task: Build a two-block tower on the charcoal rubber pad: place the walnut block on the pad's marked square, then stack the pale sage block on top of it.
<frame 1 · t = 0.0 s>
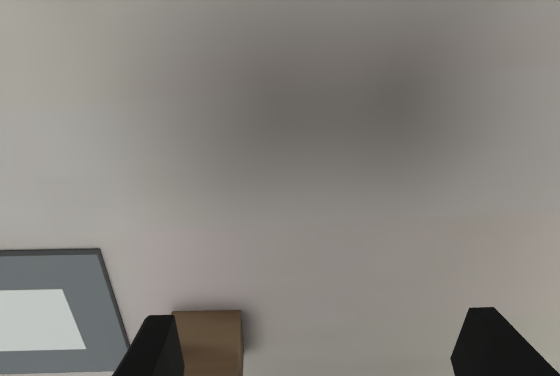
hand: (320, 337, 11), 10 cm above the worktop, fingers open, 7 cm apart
pad: (32, 315, 25), on the worktop
block walnut: (209, 332, 26), on the worktop
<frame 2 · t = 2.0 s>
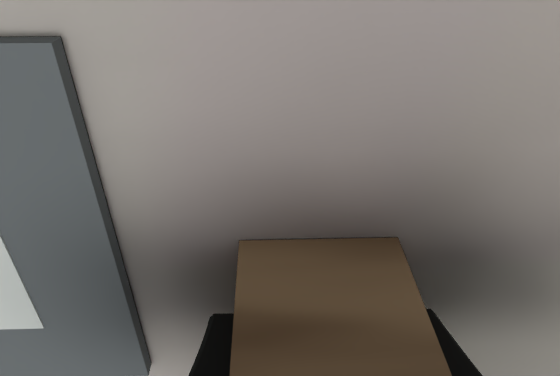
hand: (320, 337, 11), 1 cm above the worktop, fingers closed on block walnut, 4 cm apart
block walnut: (315, 293, 12), on the worktop, touching gripper
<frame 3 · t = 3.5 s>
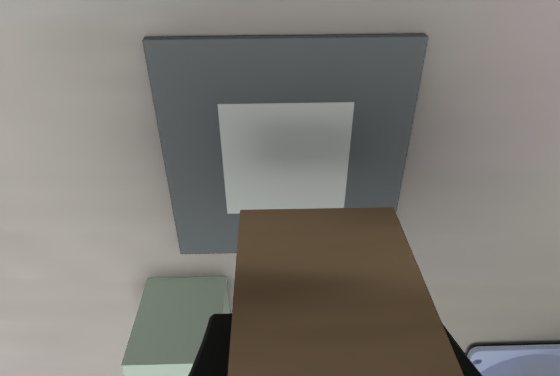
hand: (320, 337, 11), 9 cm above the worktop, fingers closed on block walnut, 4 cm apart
block sage: (192, 303, 23), on the worktop
pad: (285, 156, 18), on the worktop
block walnut: (313, 264, 12), point 7 cm above the worktop, touching gripper
when the fingers open (3 cm above the worktop, at t = 5.0 s): block walnut stays where it is, resting on pad.
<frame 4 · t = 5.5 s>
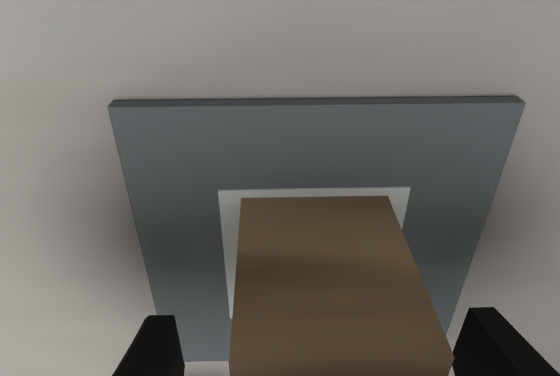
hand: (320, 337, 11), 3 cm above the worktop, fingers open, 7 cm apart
pad: (309, 249, 13), on the worktop
block walnut: (311, 251, 13), resting on pad
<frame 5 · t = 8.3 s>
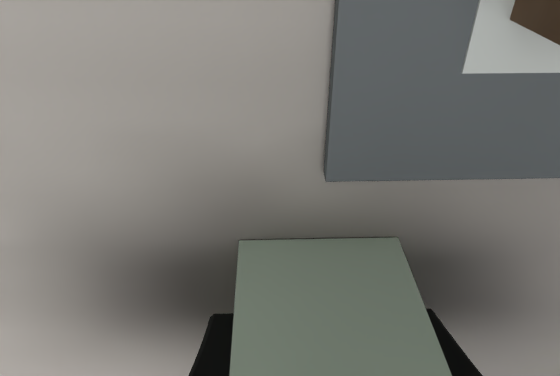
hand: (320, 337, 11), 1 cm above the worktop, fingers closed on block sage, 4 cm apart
block sage: (315, 293, 12), on the worktop, touching gripper
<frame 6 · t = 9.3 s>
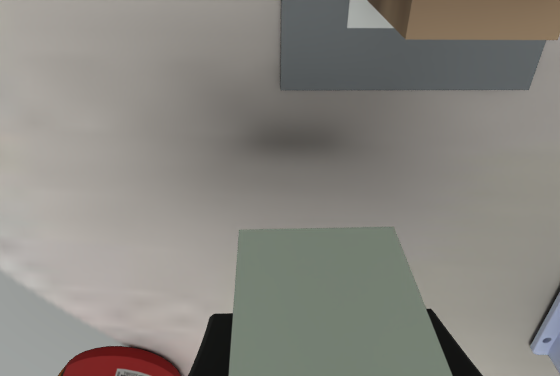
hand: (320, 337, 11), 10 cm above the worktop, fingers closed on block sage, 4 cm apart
block sage: (313, 283, 12), point 8 cm above the worktop, touching gripper
canned food: (125, 375, 29), on the worktop
when the fingers open (8 cm above the worktop, at t = 10.6 s): block sage stays where it is, resting on block walnut.
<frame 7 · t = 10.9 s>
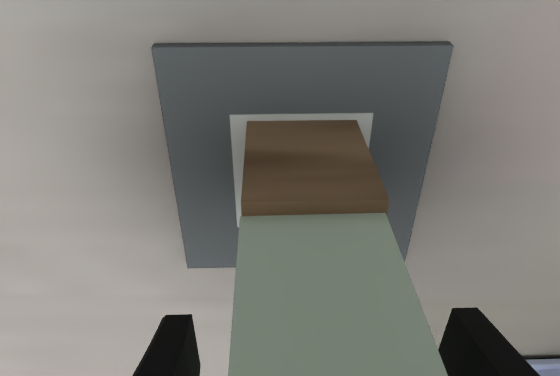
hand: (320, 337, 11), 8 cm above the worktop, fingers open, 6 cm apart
block sage: (310, 267, 13), point 5 cm above the worktop, touching block walnut
pad: (299, 168, 17), on the worktop
block walnut: (300, 167, 17), resting on pad, touching block sage
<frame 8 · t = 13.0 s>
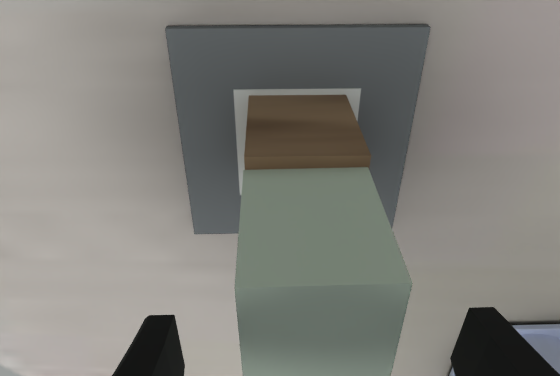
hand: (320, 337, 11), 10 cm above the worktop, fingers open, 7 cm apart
block sage: (304, 217, 15), point 5 cm above the worktop, touching block walnut
pad: (295, 140, 19), on the worktop
block walnut: (296, 138, 19), resting on pad, touching block sage
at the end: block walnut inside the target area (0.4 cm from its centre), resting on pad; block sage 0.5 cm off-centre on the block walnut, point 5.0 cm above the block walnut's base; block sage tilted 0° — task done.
